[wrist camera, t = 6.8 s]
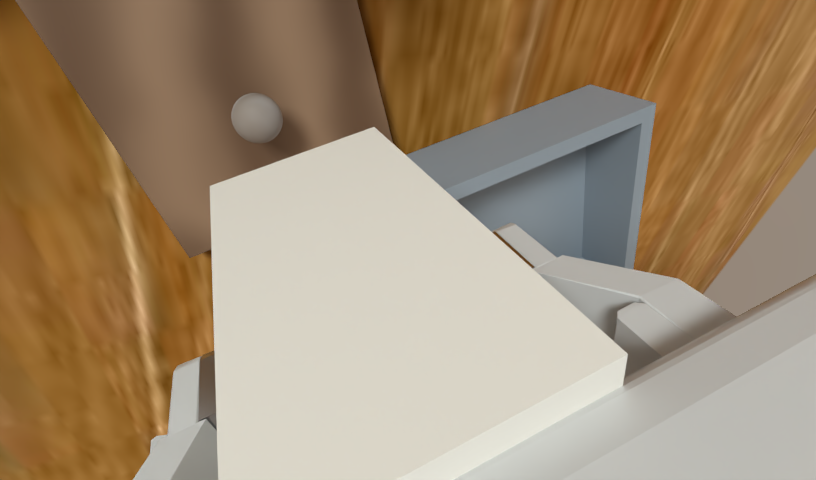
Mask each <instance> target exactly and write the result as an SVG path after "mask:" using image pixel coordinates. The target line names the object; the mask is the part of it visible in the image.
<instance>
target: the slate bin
mask: <svg viewBox="0 0 816 480" xmlns="http://www.w3.org/2000/svg"><path fill="white" fill-rule="evenodd" d="M655 108H656V103H653V102H650V101H646V100H643V99H639V98H636V97H632V96H629V95H625V94H622V93H618V92H615V91H611V90H608V89H604V88H601V87H597V86H594V85H587V86H585V87H582V88H579V89H577V90H574V91H572V92H569V93H566V94H564V95H561V96H559V97H556V98H553V99H551V100H548V101H546V102H543V103H540V104H538V105H535V106H533V107H530V108H527V109H525V110H522V111H519V112H517V113H514V114H512V115H509V116H506V117H504V118H501V119H499V120H496V121H493V122H491V123H488V124H486V125H483V126H480V127H478V128H475V129H473V130H470V131H467V132H465V133H462V134H459V135H457V136H454V137H452V138H449V139H446V140H444V141H441V142H439V143H436V144H433V145H431V146H428V147H426V148H423V149H420V150H418V151H415V152H413V153H410V154H407V155H406V156H407V157H408V158H410V159H411V160H412V161H413V162H414V163H415V164H416V165H417V166H418V167H420V168H421V169H422V170H423V171H424V172H425V173H426V174H427V175H429V176H430V177H431V178H432V179H433V180H434V181H435V182H436V183H437V184H439V185H440V186H441V187H442V188H443V189H444V190H445V191H446V192H448V193H449V194H450V195H451V196H452V197H453V198H454V199H455V200H456V201H458V202H459V203H460V204H461V205H462V206H463V207H464V208H465V209H466V210H468V211H469V212H470V213H471V214H472V215H473V216H474V217H475V218H477V219H478V220H479V221H480V222H481V223H482V224H483V225H484V226H485V227H487V228H488V229H489V230H490V231H491V232H492V231H493V230H496V229H498V228H500V227H502V226H504V225H507V224H509V223H514V224H516V225H517V226H518V227H520V228H521V229H522V230H523V231H525V232H526V233H527V234H528V235H530V236H531V237H532V238H533V239H535V240H536V241H537V242H538V243H540V244H541V245H542V246H543V247H545V248H546V249H547V250H548V251H550V252H551V253H552V254H553V255H555V256H556V257H560V256H562V255H565V256H570V257H574V258H579V259H584V260H589V261H594V262H599V263H604V264H608V265H613V266H618V267H623V268H628V269H633V267H634V260H635V253H636V246H637V238H638V231H639V224H640V217H641V209H642V202H643V195H644V188H645V180H646V173H647V166H648V159H649V151H650V144H651V137H652V130H653V122H654V115H655Z"/></svg>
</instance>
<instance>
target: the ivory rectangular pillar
mask: <svg viewBox="0 0 816 480" xmlns="http://www.w3.org/2000/svg"><path fill="white" fill-rule="evenodd" d="M210 215H211V249H212V283H213V318H214V352H215V386H216V421H217V455H218V480H454V479H456V478H457V477H459V476H461V475H463V474H465V473H466V472H468V471H470V470H472V469H474V468H475V467H477V466H479V465H481V464H483V463H484V462H486V461H488V460H490V459H492V458H493V457H495V456H497V455H499V454H501V453H502V452H504V451H506V450H508V449H510V448H511V447H513V446H515V445H517V444H519V443H520V442H522V441H524V440H526V439H527V438H529V437H531V436H533V435H535V434H536V433H538V432H540V431H542V430H544V429H545V428H547V427H549V426H551V425H553V424H554V423H556V422H558V421H560V420H562V419H563V418H565V417H567V416H569V415H571V414H572V413H574V412H576V411H578V410H580V409H582V408H583V407H585V406H587V405H589V404H591V403H592V402H594V401H596V400H598V399H600V398H601V397H603V396H605V395H607V394H609V393H610V392H612V391H614V390H616V389H618V388H619V387H621V386H623V381H624V375H625V369H626V363H627V357H628V354H627V353H626V352H625V351H624V350H623V349H622V348H621V347H620V346H618V345H617V344H616V343H615V342H614V341H613V340H612V339H611V338H609V337H608V336H607V335H606V334H605V333H604V332H603V331H602V330H601V329H599V328H598V327H597V326H596V325H595V324H594V323H593V322H592V321H590V320H589V319H588V318H587V317H586V316H585V315H584V314H583V313H582V312H580V311H579V310H578V309H577V308H576V307H575V306H574V305H573V304H571V303H570V302H569V301H568V300H567V299H566V298H565V297H564V296H563V295H561V294H560V293H559V292H558V291H557V290H556V289H555V288H554V287H552V286H551V285H550V284H549V283H548V282H547V281H546V280H545V279H544V278H542V277H541V276H540V275H539V274H538V273H537V272H536V271H535V270H534V269H532V268H531V267H530V266H529V265H528V264H527V263H526V262H525V261H523V260H522V259H521V258H520V257H519V256H518V255H517V254H516V253H515V252H513V251H512V250H511V249H510V248H509V247H508V246H507V245H506V244H504V243H503V242H502V241H501V240H500V239H499V238H498V237H497V236H496V235H494V234H493V233H492V232H491V231H490V230H489V229H488V228H487V227H485V226H484V225H483V224H482V223H481V222H480V221H479V220H478V219H477V218H475V217H474V216H473V215H472V214H471V213H470V212H469V211H468V210H466V209H465V208H464V207H463V206H462V205H461V204H460V203H459V202H458V201H456V200H455V199H454V198H453V197H452V196H451V195H450V194H449V193H448V192H446V191H445V190H444V189H443V188H442V187H441V186H440V185H439V184H437V183H436V182H435V181H434V180H433V179H432V178H431V177H430V176H429V175H427V174H426V173H425V172H424V171H423V170H422V169H421V168H420V167H418V166H417V165H416V164H415V163H414V162H413V161H412V160H411V159H410V158H408V157H407V156H406V155H405V154H404V153H403V152H402V151H401V150H399V149H398V148H397V147H396V146H395V145H394V144H393V143H392V142H391V141H389V140H388V139H387V138H386V137H385V136H384V135H383V134H382V133H380V132H379V131H378V130H377V129H376V128H375V127H372V128H369V129H366V130H364V131H361V132H358V133H355V134H353V135H350V136H347V137H344V138H341V139H339V140H336V141H333V142H330V143H328V144H325V145H322V146H319V147H316V148H314V149H311V150H308V151H305V152H303V153H300V154H297V155H294V156H291V157H289V158H286V159H283V160H280V161H278V162H275V163H272V164H269V165H266V166H264V167H261V168H258V169H255V170H253V171H250V172H247V173H244V174H241V175H239V176H236V177H233V178H230V179H228V180H225V181H222V182H219V183H216V184H214V185H211V186H210Z"/></svg>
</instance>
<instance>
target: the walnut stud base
mask: <svg viewBox="0 0 816 480" xmlns="http://www.w3.org/2000/svg"><path fill="white" fill-rule="evenodd" d="M15 1H16V2H17V4H18V5H19V7H20V8H21V10H22V11H23V13H24V14H25V16H26V17H27V18H28V20H29V21H30V23H31V24H32V26H33V27H34V29H35V30H36V32H37V33H38V35H39V36H40V38H41V39H42V41H43V42H44V44H45V45H46V47H47V48H48V49H49V51H50V52H51V54H52V55H53V57H54V58H55V60H56V61H57V63H58V64H59V66H60V67H61V69H62V70H63V72H64V73H65V75H66V76H67V78H68V79H69V80H70V82H71V83H72V85H73V86H74V88H75V89H76V91H77V92H78V94H79V95H80V97H81V98H82V100H83V101H84V103H85V104H86V106H87V107H88V109H89V110H90V111H91V113H92V114H93V116H94V117H95V119H96V120H97V122H98V123H99V125H100V126H101V128H102V129H103V131H104V132H105V134H106V135H107V137H108V138H109V140H110V141H111V142H112V144H113V145H114V147H115V148H116V150H117V151H118V153H119V154H120V156H121V157H122V159H123V160H124V162H125V163H126V165H127V166H128V168H129V169H130V171H131V172H132V173H133V175H134V176H135V178H136V179H137V181H138V182H139V184H140V185H141V187H142V188H143V190H144V191H145V193H146V194H147V196H148V197H149V199H150V200H151V202H152V203H153V205H154V206H155V207H156V209H157V210H158V212H159V213H160V215H161V216H162V218H163V219H164V221H165V222H166V224H167V225H168V227H169V228H170V230H171V231H172V233H173V234H174V236H175V237H176V238H177V240H178V241H179V243H180V244H181V246H182V247H183V249H184V250H185V252H186V253H187V255H188V256H189V258H191V257H193V256H196V255H199V254H201V253H204V252H206V251H209V250H211V215H210V186H211V185H214V184H216V183H219V182H222V181H225V180H228V179H230V178H233V177H236V176H239V175H241V174H244V173H247V172H250V171H253V170H255V169H258V168H261V167H264V166H266V165H269V164H272V163H275V162H278V161H280V160H283V159H286V158H289V157H291V156H294V155H297V154H300V153H303V152H305V151H308V150H311V149H314V148H316V147H319V146H322V145H325V144H328V143H330V142H333V141H336V140H339V139H341V138H344V137H347V136H350V135H353V134H355V133H358V132H361V131H364V130H366V129H369V128H372V127H375V128H376V129H377V130H378V131H379V132H380V133H382V134H383V135H384V136H385V137H386V138H387V139H388V140H389V141H391V142H392V143H393V141H392V137H391V133H390V129H389V125H388V121H387V117H386V113H385V110H384V106H383V102H382V98H381V94H380V90H379V86H378V82H377V78H376V74H375V70H374V66H373V62H372V58H371V54H370V50H369V46H368V42H367V38H366V34H365V30H364V26H363V22H362V18H361V14H360V10H359V6H358V2H357V0H15Z"/></svg>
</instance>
